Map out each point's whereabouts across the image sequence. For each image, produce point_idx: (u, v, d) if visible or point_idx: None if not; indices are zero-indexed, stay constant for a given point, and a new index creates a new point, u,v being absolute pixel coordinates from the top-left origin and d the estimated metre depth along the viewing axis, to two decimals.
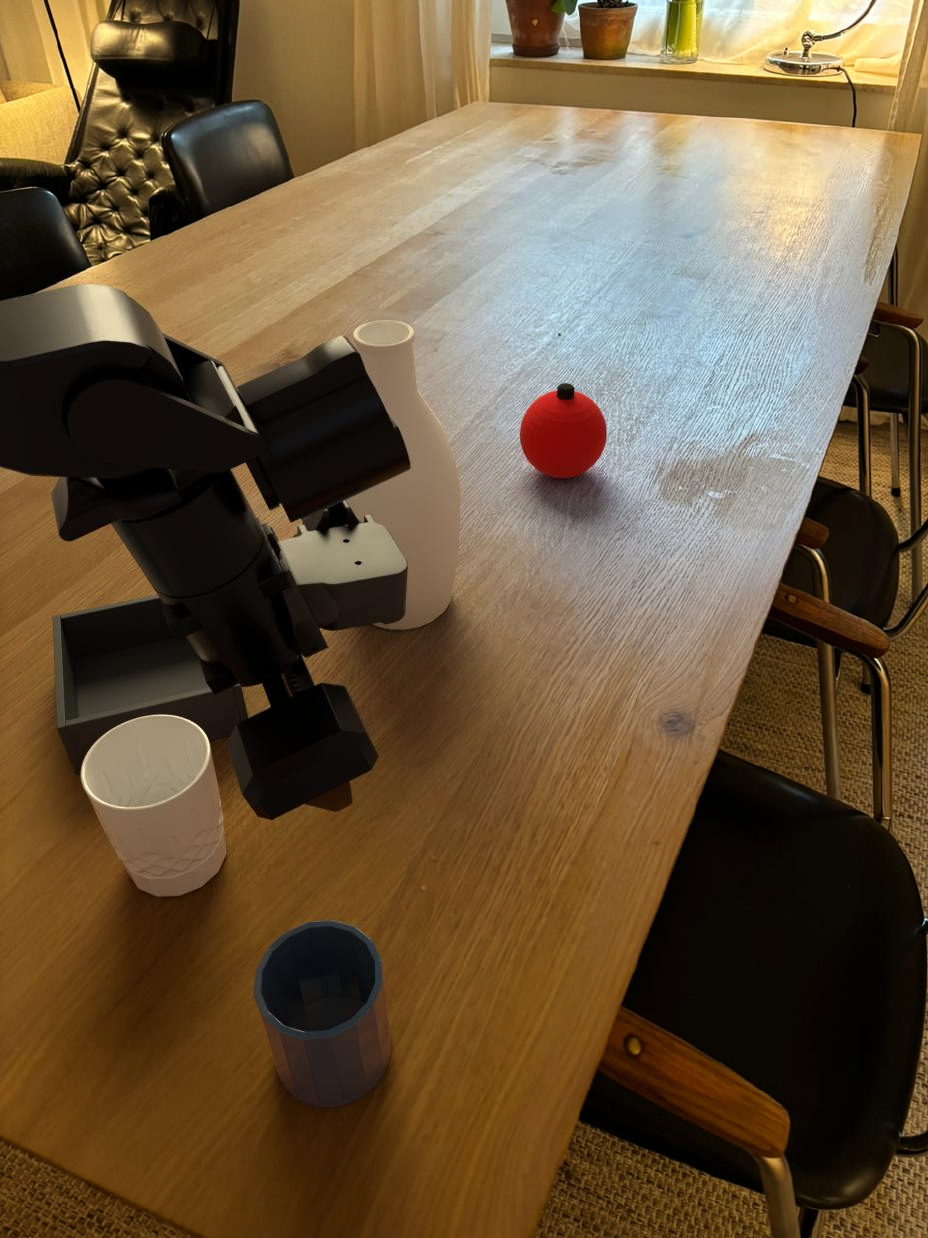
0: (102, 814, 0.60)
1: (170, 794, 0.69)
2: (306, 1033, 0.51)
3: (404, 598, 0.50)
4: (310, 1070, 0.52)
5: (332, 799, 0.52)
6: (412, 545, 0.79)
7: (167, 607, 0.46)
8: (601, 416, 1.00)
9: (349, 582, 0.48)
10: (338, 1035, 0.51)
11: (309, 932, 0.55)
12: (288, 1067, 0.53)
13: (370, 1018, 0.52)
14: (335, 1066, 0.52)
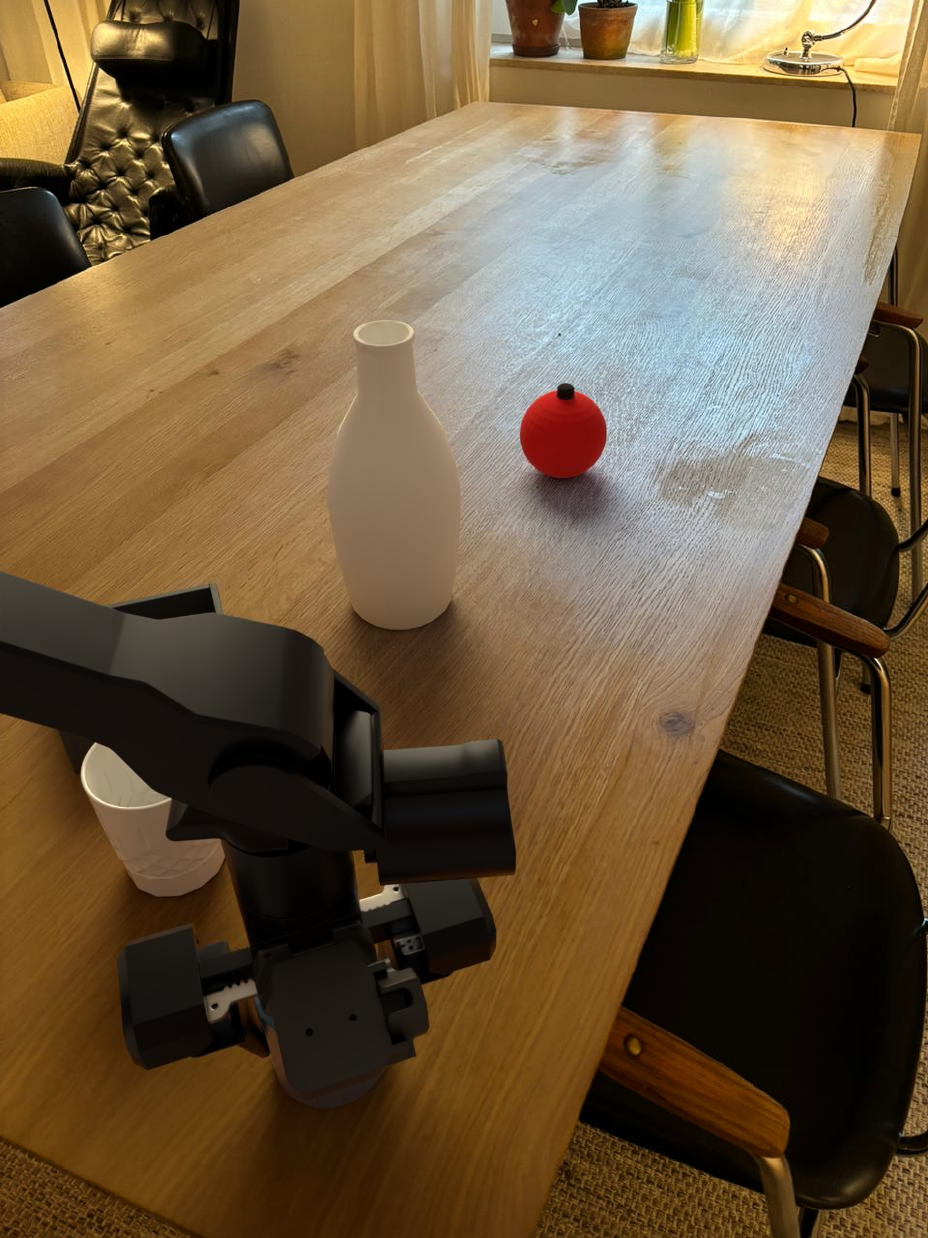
0: (102, 814, 0.60)
1: None
2: None
3: (297, 1094, 0.45)
4: None
5: None
6: (412, 545, 0.79)
7: None
8: (601, 416, 1.00)
9: (274, 1021, 0.44)
10: None
11: None
12: None
13: None
14: None
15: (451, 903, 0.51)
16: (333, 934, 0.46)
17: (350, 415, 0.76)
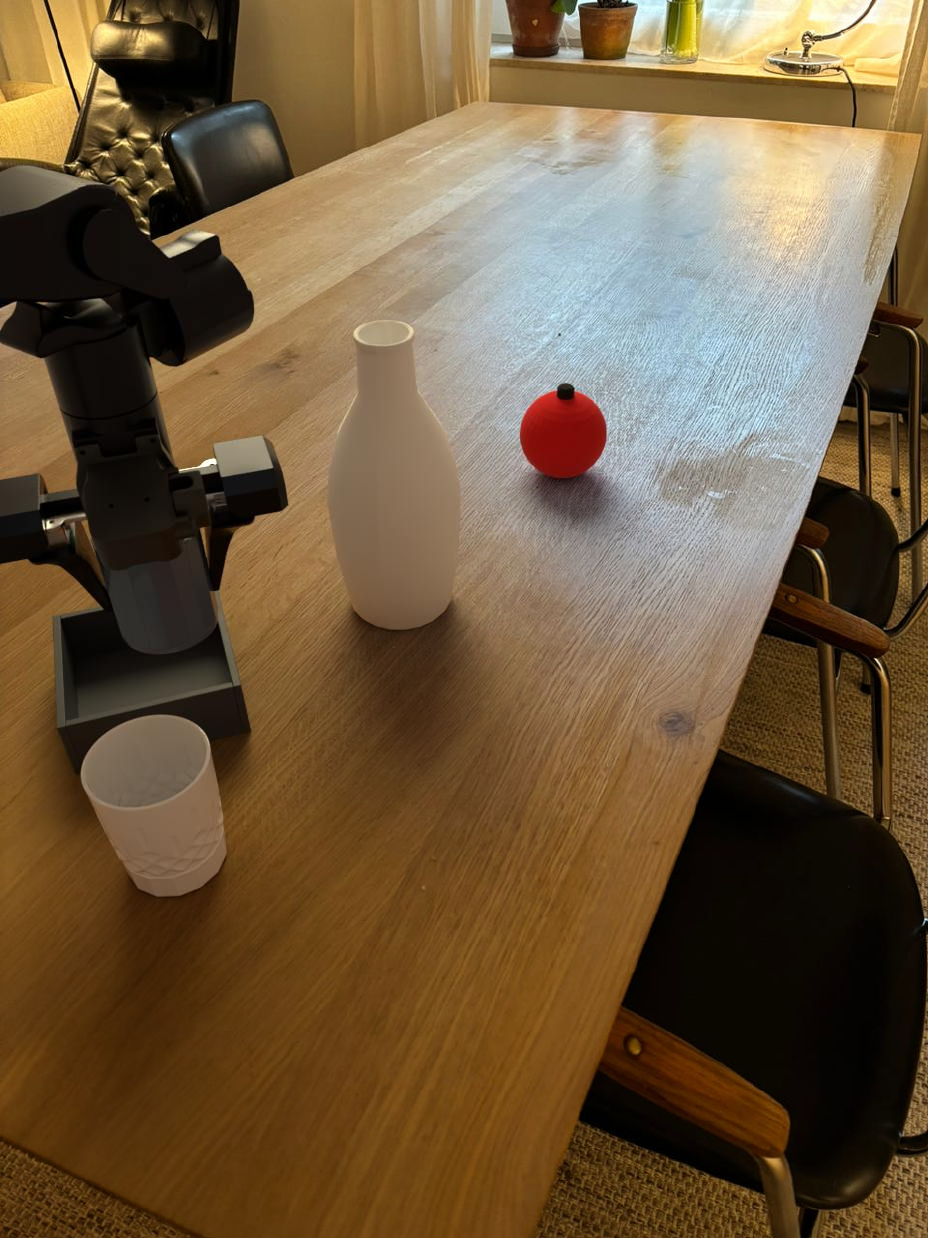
0: (102, 814, 0.60)
1: (170, 794, 0.69)
2: None
3: (102, 556, 0.57)
4: (136, 603, 0.65)
5: None
6: (412, 545, 0.79)
7: None
8: (601, 416, 1.00)
9: (84, 498, 0.57)
10: None
11: None
12: (120, 605, 0.66)
13: (183, 557, 0.64)
14: (156, 600, 0.65)
15: (249, 461, 0.64)
16: (136, 442, 0.58)
17: (350, 415, 0.76)
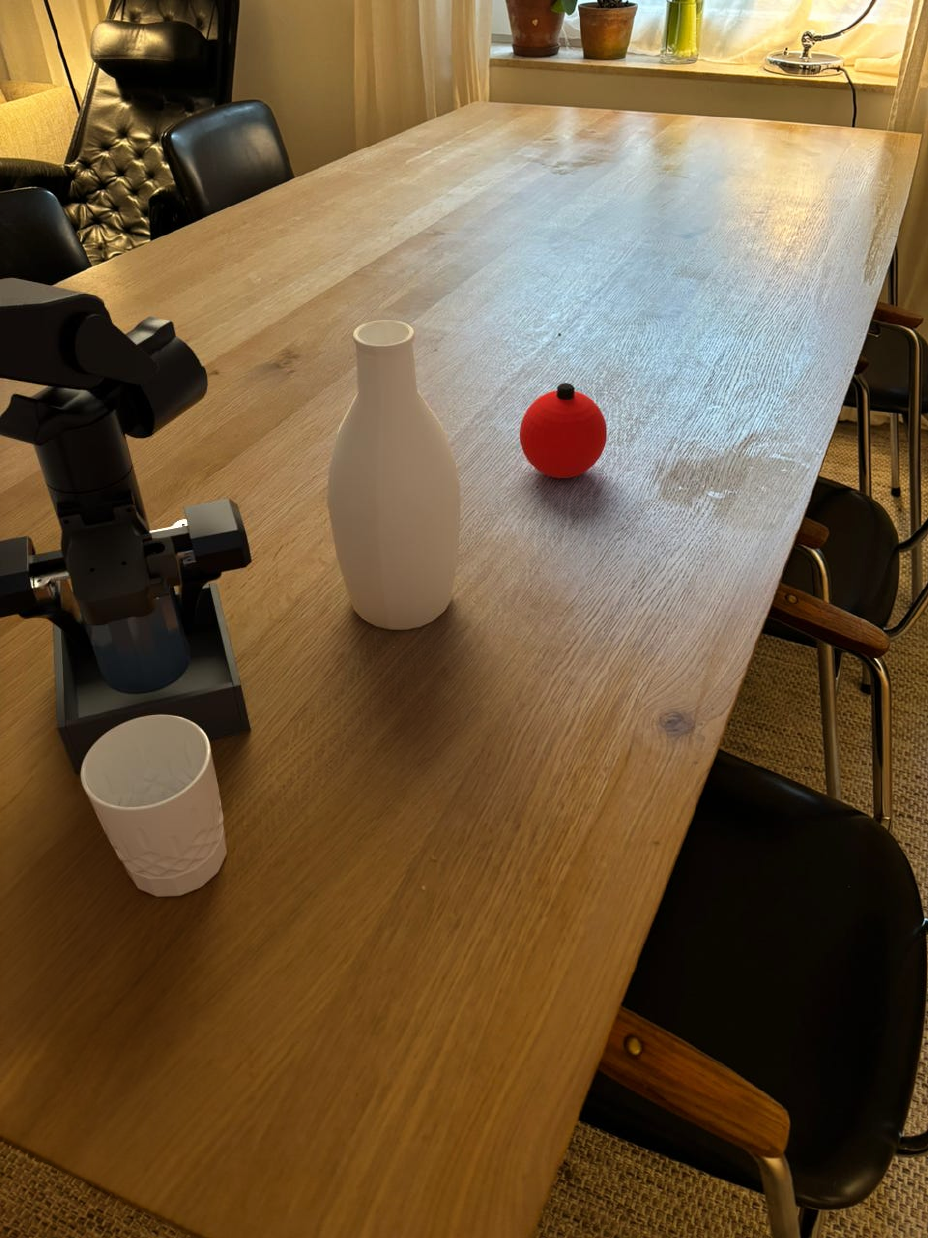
0: (102, 814, 0.60)
1: (170, 794, 0.69)
2: None
3: (84, 614, 0.65)
4: (115, 650, 0.72)
5: None
6: (412, 545, 0.79)
7: None
8: (601, 416, 1.00)
9: (68, 562, 0.64)
10: None
11: None
12: (101, 651, 0.73)
13: (157, 609, 0.72)
14: (133, 647, 0.72)
15: (216, 523, 0.71)
16: (114, 511, 0.66)
17: (350, 415, 0.76)
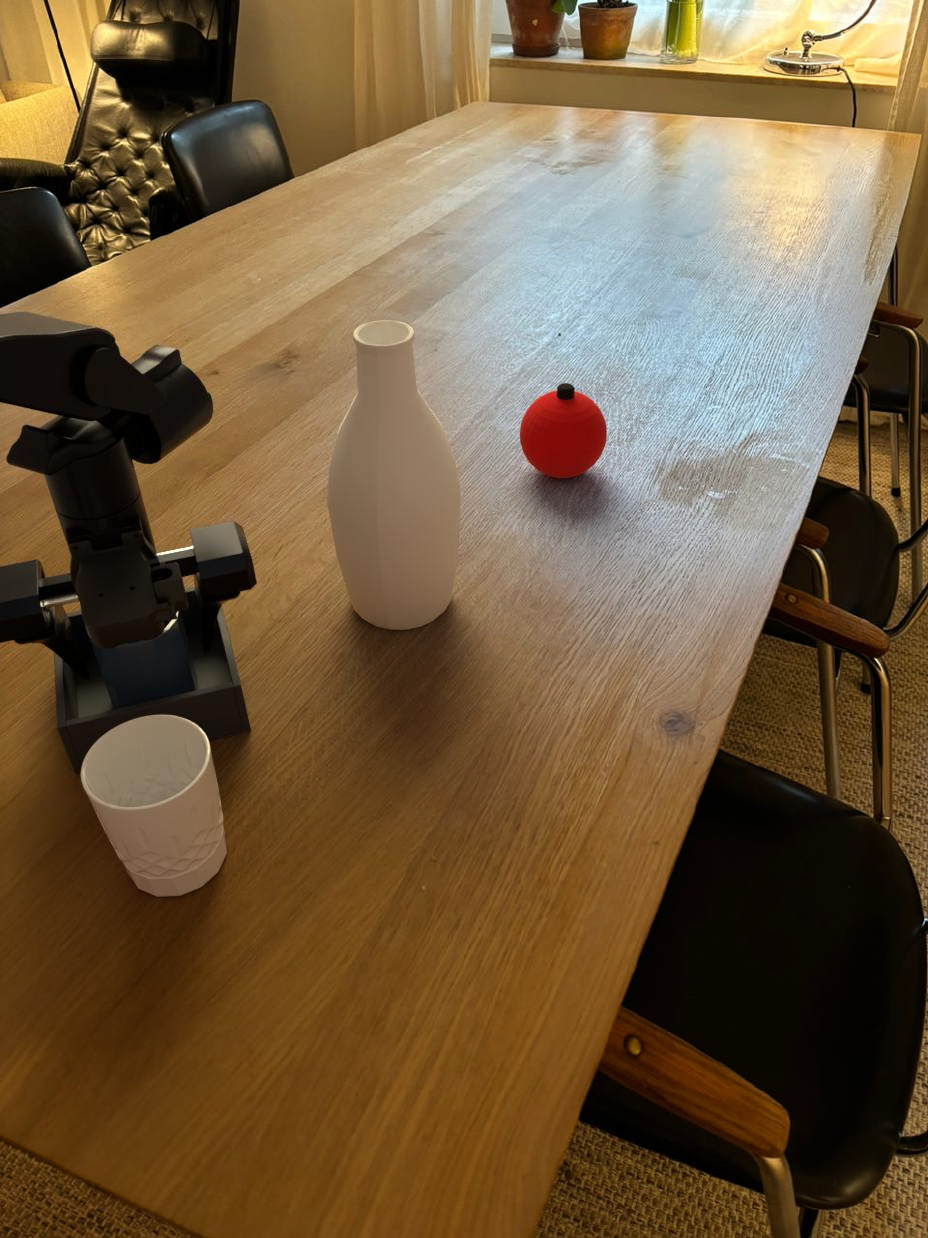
0: (102, 814, 0.60)
1: (170, 794, 0.69)
2: None
3: (94, 638, 0.66)
4: (126, 681, 0.74)
5: None
6: (412, 545, 0.79)
7: None
8: (601, 416, 1.00)
9: (77, 588, 0.66)
10: (140, 646, 0.73)
11: None
12: (112, 682, 0.75)
13: (166, 641, 0.74)
14: (143, 678, 0.74)
15: (221, 546, 0.73)
16: (122, 537, 0.67)
17: (350, 415, 0.76)
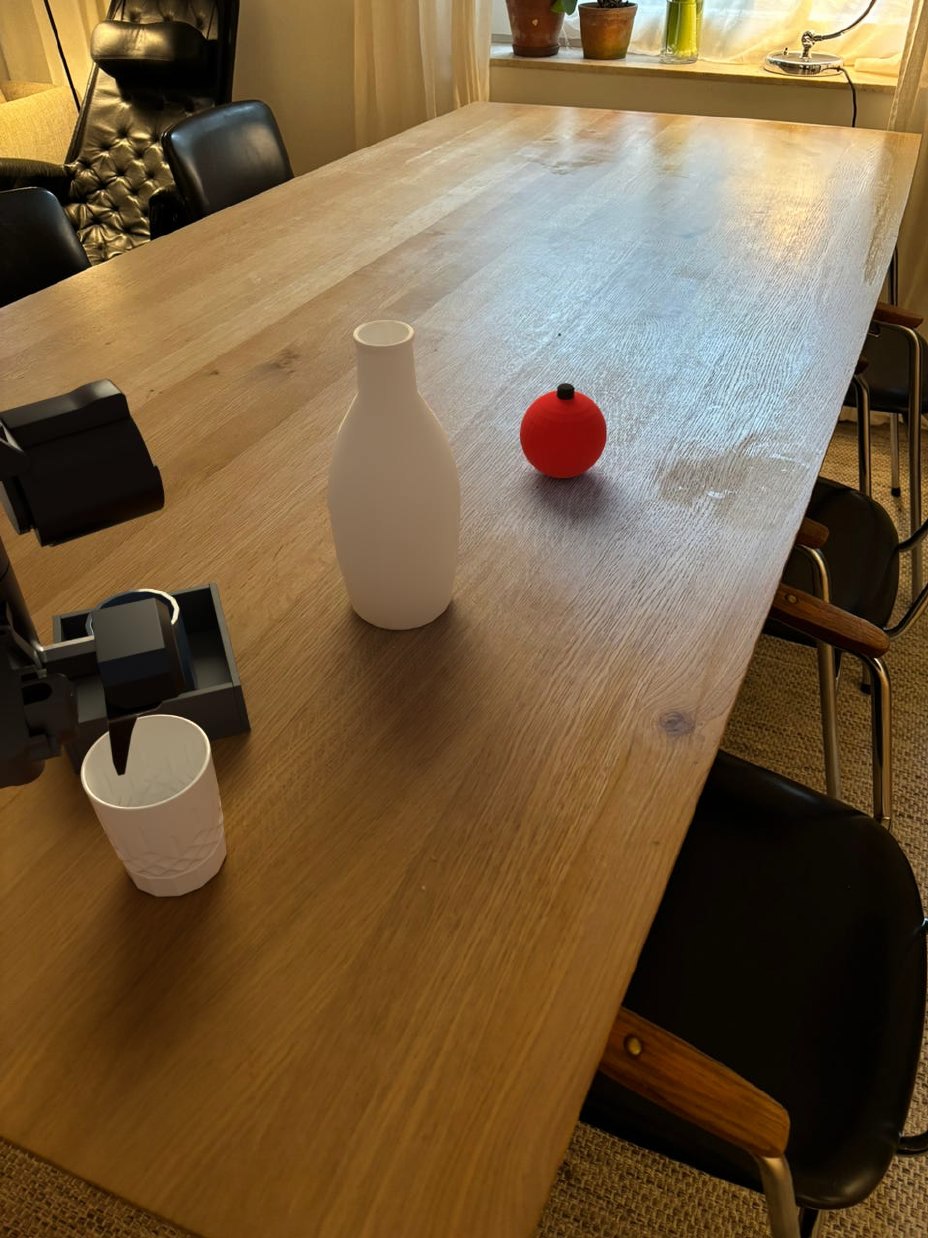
0: (102, 814, 0.60)
1: (170, 794, 0.69)
2: None
3: None
4: None
5: None
6: (412, 545, 0.79)
7: None
8: (601, 416, 1.00)
9: None
10: None
11: (132, 596, 0.77)
12: None
13: None
14: None
15: (135, 638, 0.51)
16: None
17: (350, 415, 0.76)
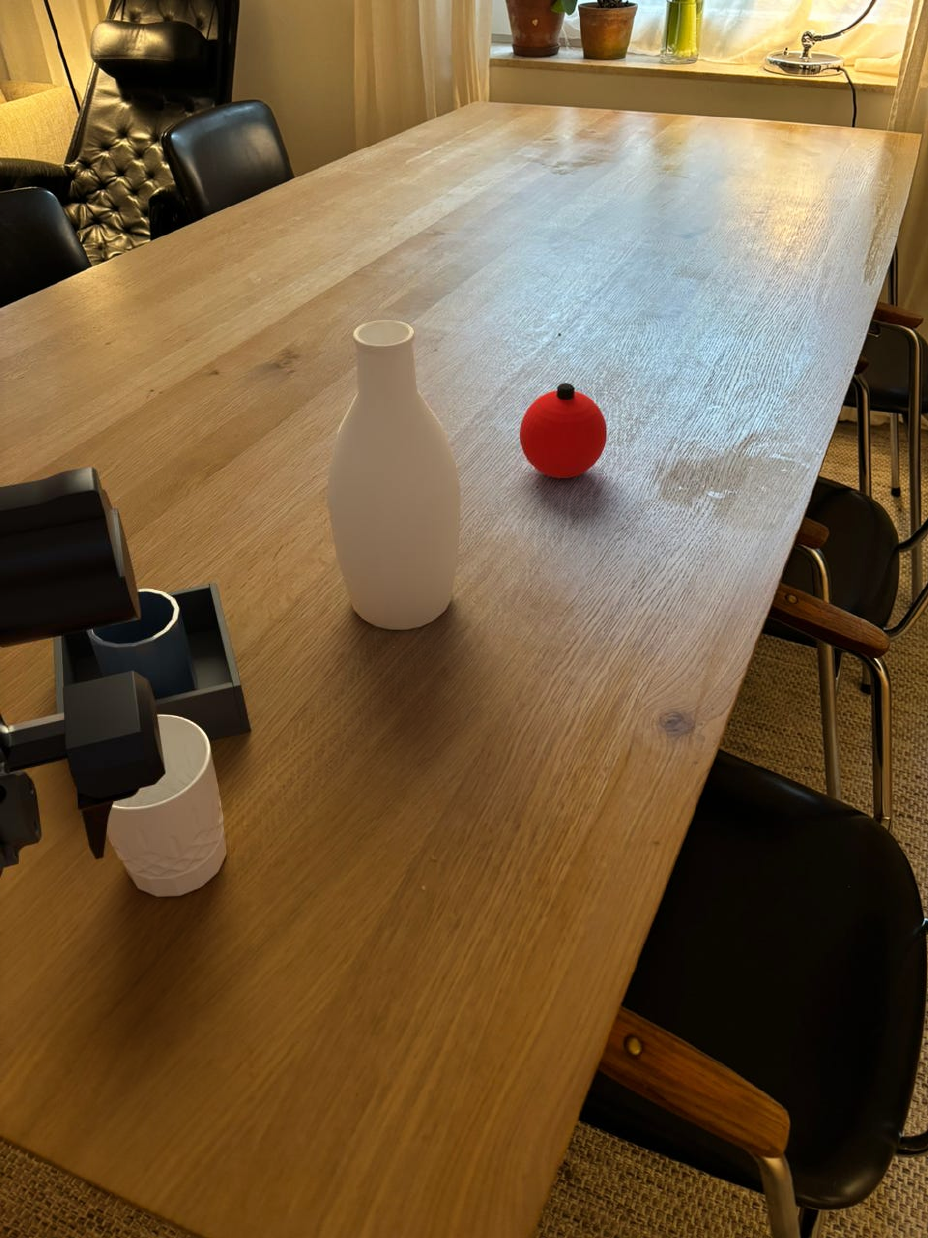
0: None
1: (170, 794, 0.69)
2: (118, 644, 0.73)
3: None
4: None
5: None
6: (412, 545, 0.79)
7: None
8: (601, 416, 1.00)
9: None
10: (140, 646, 0.73)
11: None
12: None
13: (166, 641, 0.74)
14: None
15: (108, 720, 0.46)
16: None
17: (350, 415, 0.76)
